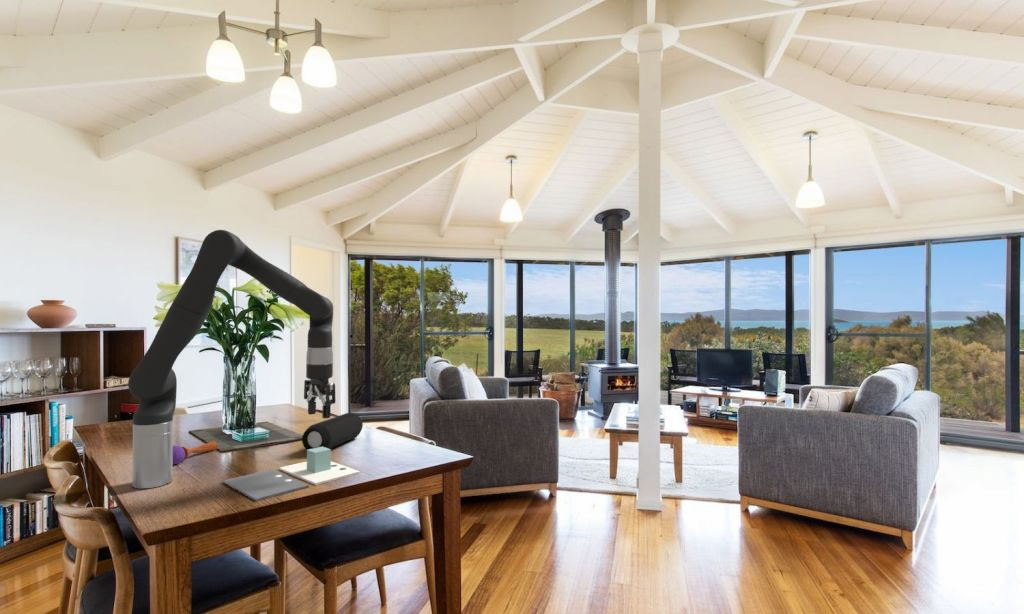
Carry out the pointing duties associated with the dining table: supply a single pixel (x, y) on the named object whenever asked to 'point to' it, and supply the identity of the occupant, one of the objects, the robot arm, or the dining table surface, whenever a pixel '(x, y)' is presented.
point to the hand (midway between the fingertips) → (319, 416)
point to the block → (318, 459)
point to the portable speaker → (332, 431)
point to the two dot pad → (265, 484)
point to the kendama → (190, 451)
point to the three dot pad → (319, 473)
